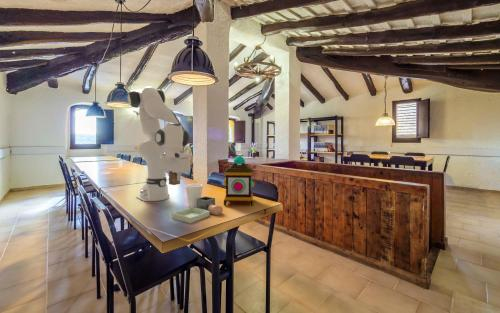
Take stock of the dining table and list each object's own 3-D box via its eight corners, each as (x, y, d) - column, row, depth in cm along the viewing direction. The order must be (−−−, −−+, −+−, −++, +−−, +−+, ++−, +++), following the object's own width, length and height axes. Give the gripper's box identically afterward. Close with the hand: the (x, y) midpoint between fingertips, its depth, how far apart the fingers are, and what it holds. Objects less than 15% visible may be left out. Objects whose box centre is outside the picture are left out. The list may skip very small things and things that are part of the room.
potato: (206, 212, 126) (209, 203, 127) (212, 214, 130) (215, 205, 131) (215, 214, 123) (218, 205, 124) (220, 216, 127) (223, 207, 128)
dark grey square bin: (196, 211, 132) (196, 199, 132) (205, 208, 138) (205, 196, 138) (206, 213, 128) (206, 200, 128) (215, 210, 134) (215, 198, 134)
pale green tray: (171, 219, 119) (171, 213, 119) (191, 212, 130) (191, 207, 130) (190, 224, 112) (190, 218, 112) (209, 216, 123) (209, 211, 123)
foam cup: (198, 209, 135) (198, 187, 134) (183, 208, 137) (183, 186, 136) (205, 205, 145) (204, 184, 144) (190, 204, 147) (190, 183, 146)
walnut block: (168, 184, 125) (168, 172, 124) (175, 183, 128) (174, 172, 128) (174, 185, 123) (173, 173, 122) (180, 183, 126) (180, 172, 126)
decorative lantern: (254, 207, 141) (255, 156, 139) (221, 206, 142) (221, 156, 140) (254, 198, 161) (255, 154, 159) (225, 198, 162) (225, 154, 160)
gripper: (156, 152, 127) (156, 178, 128) (183, 154, 116) (183, 182, 117) (166, 152, 132) (166, 176, 133) (192, 154, 121) (192, 181, 123)
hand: (174, 179), depth 125 cm, fingers closed on walnut block, 4 cm apart
